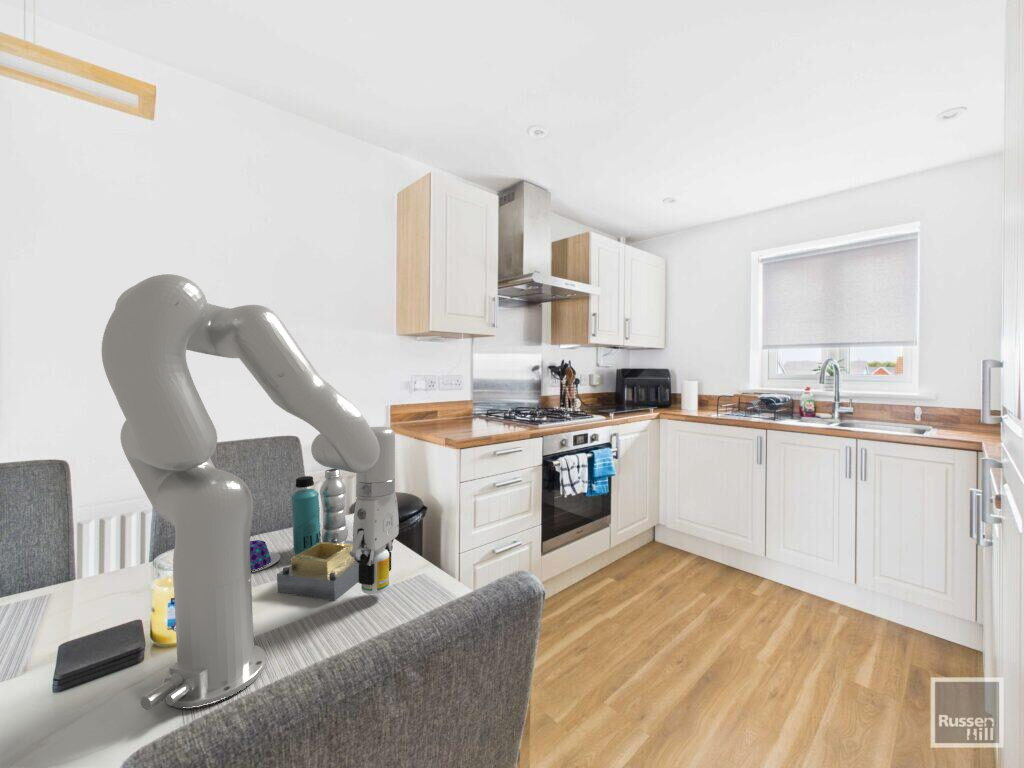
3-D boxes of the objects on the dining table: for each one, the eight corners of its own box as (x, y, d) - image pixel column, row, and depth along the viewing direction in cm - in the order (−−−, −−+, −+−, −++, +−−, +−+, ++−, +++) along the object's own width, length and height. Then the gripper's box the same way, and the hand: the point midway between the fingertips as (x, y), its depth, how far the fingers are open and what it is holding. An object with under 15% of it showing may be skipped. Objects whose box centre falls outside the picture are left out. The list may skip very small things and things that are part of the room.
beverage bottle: (301, 563, 104) (298, 481, 103) (288, 557, 108) (285, 478, 107) (326, 554, 109) (324, 476, 108) (313, 548, 113) (310, 472, 112)
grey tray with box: (334, 600, 87) (333, 568, 86) (277, 592, 90) (276, 562, 90) (390, 556, 107) (389, 530, 107) (341, 551, 111) (340, 526, 110)
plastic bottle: (353, 541, 117) (351, 468, 116) (331, 550, 111) (328, 474, 111) (338, 537, 120) (336, 466, 120) (316, 545, 115) (313, 471, 114)
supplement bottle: (360, 596, 84) (360, 547, 84) (362, 584, 89) (362, 537, 89) (388, 593, 86) (388, 545, 86) (389, 581, 91) (389, 535, 91)
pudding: (252, 553, 112) (251, 533, 111) (291, 556, 109) (290, 536, 109) (209, 574, 100) (208, 552, 100) (252, 579, 97) (251, 556, 97)
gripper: (367, 500, 78) (367, 599, 78) (412, 480, 95) (412, 562, 95) (332, 497, 80) (331, 594, 80) (382, 478, 97) (382, 558, 97)
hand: (375, 576), depth 87 cm, fingers closed on supplement bottle, 5 cm apart
